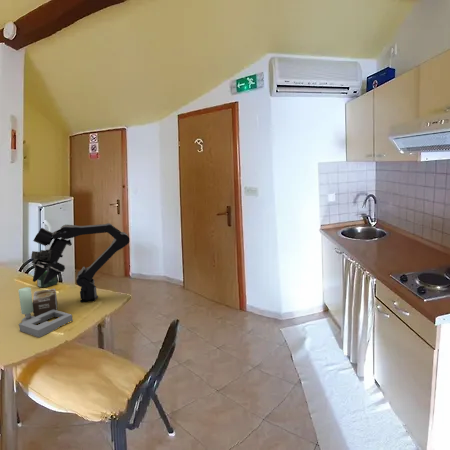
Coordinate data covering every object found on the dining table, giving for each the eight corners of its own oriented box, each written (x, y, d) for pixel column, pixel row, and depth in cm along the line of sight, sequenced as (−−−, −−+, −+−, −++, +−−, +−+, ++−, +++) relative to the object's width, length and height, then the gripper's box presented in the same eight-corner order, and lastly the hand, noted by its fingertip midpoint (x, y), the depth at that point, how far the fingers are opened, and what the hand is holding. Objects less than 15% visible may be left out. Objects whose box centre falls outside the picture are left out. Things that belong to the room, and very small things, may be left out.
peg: (37, 318, 146) (33, 287, 143) (31, 323, 141) (27, 291, 138) (25, 318, 145) (21, 287, 143) (19, 323, 141) (15, 291, 138)
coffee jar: (54, 281, 191) (50, 249, 188) (59, 284, 186) (55, 251, 182) (35, 285, 184) (31, 252, 181) (40, 289, 179) (36, 255, 175)
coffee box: (55, 287, 163) (56, 299, 149) (57, 300, 164) (57, 313, 150) (33, 291, 159) (32, 303, 145) (35, 304, 160) (34, 317, 146)
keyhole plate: (53, 315, 148) (53, 309, 147) (72, 321, 142) (72, 314, 142) (19, 330, 135) (18, 323, 134) (39, 337, 129) (38, 330, 129)
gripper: (30, 241, 154) (11, 273, 148) (50, 244, 143) (31, 278, 137) (51, 251, 162) (35, 282, 156) (72, 254, 151) (55, 288, 145)
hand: (38, 282), depth 149 cm, fingers open, 9 cm apart
